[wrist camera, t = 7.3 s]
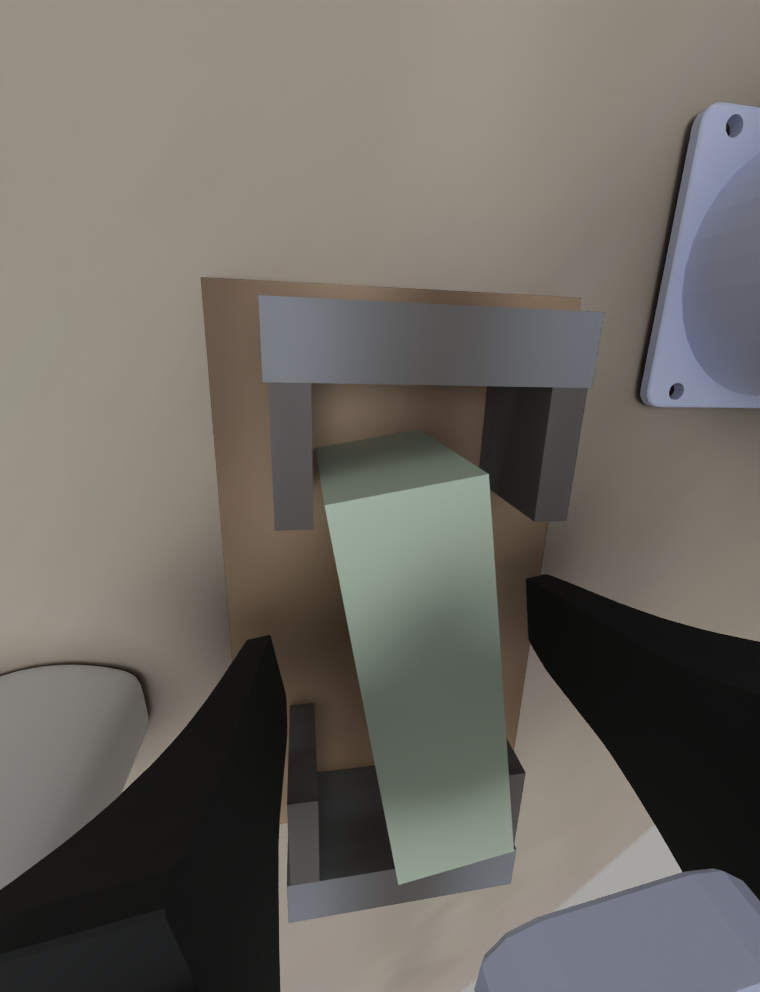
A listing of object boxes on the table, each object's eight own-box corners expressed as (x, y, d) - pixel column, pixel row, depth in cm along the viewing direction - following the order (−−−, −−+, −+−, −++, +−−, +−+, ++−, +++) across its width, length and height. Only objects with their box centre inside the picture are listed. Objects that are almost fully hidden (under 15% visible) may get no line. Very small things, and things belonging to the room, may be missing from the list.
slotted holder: (561, 301, 13) (681, 278, 9) (497, 769, 19) (554, 890, 15) (208, 283, 12) (157, 244, 8) (249, 802, 17) (232, 949, 13)
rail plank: (420, 429, 13) (488, 474, 8) (451, 705, 16) (513, 851, 11) (315, 447, 13) (324, 505, 8) (369, 726, 16) (398, 885, 11)
